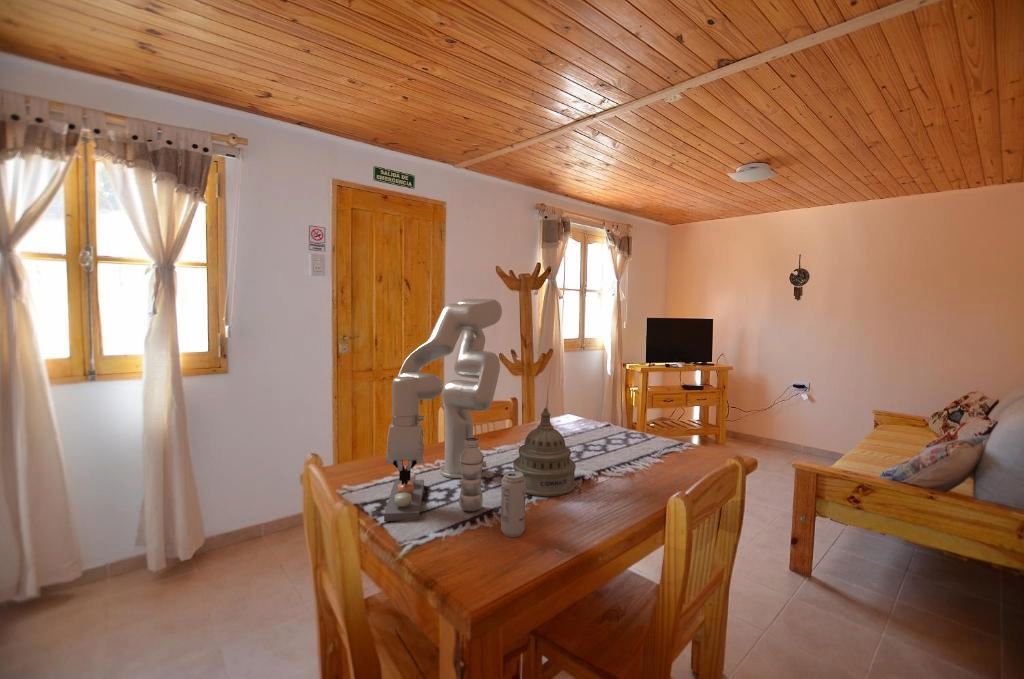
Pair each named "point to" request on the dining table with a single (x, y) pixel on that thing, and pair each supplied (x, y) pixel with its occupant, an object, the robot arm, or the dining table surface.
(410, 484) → the key terracotta
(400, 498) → the key sage
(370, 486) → the dining table surface
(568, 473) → the dome
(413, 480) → the key cream
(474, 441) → the plastic bottle
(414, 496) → the button board
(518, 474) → the energy drink can
